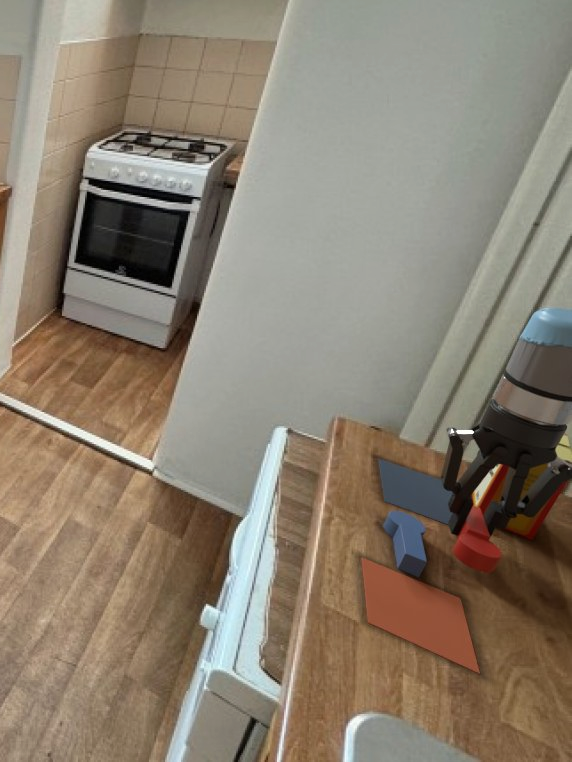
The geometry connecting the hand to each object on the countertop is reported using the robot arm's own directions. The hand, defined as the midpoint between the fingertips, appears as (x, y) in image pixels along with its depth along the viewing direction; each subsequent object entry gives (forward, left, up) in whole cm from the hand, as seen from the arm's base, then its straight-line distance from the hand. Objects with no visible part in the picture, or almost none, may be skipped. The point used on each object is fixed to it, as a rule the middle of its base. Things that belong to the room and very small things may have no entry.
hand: (466, 533), depth 94 cm
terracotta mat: (+8, +20, -3) cm, 21 cm away
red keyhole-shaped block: (0, +2, 0) cm, 2 cm away
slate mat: (+4, -10, -2) cm, 11 cm away
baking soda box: (-6, -13, -3) cm, 15 cm away
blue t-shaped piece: (+8, +7, -3) cm, 10 cm away
